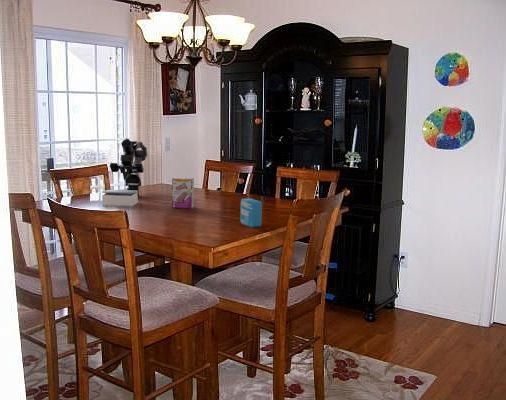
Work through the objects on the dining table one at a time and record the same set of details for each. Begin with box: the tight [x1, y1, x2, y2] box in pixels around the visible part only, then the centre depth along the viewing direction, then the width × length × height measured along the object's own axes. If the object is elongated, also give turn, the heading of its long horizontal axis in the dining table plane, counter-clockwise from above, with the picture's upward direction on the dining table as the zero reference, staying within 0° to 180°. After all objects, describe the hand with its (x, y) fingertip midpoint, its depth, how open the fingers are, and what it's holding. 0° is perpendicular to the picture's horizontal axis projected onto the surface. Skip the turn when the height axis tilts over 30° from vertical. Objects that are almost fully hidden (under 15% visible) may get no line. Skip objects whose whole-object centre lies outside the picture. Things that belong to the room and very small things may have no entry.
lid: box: [101, 189, 138, 194], centre depth 294 cm, size 14×16×1 cm
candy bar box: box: [171, 176, 195, 210], centre depth 287 cm, size 11×5×16 cm, turn 84°
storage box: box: [101, 192, 139, 208], centre depth 294 cm, size 14×16×6 cm
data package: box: [239, 197, 263, 228], centre depth 247 cm, size 12×4×12 cm, turn 31°
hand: (124, 179), depth 303 cm, fingers closed
